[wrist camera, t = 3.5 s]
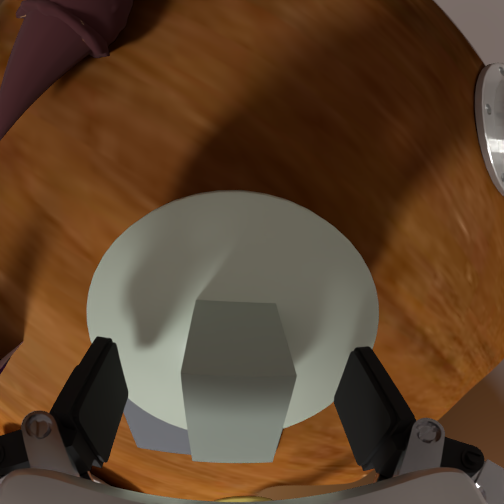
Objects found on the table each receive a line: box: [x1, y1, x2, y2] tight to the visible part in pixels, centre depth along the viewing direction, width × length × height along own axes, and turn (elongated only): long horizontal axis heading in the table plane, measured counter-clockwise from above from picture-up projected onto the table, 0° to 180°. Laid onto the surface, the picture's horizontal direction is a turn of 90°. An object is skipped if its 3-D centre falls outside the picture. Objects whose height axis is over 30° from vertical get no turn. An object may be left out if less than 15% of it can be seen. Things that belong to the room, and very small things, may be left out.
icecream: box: [0, 0, 133, 140], centre depth 8 cm, size 7×7×15 cm
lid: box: [87, 190, 379, 463], centre depth 10 cm, size 13×13×5 cm
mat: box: [123, 398, 278, 455], centre depth 21 cm, size 14×11×1 cm
